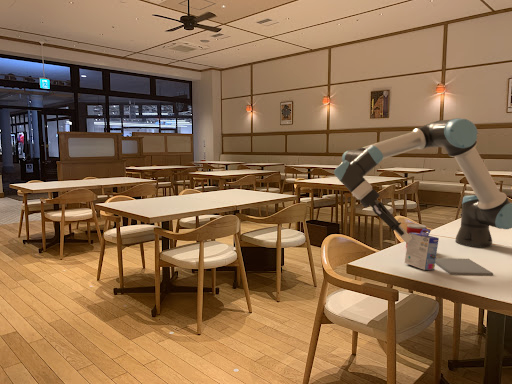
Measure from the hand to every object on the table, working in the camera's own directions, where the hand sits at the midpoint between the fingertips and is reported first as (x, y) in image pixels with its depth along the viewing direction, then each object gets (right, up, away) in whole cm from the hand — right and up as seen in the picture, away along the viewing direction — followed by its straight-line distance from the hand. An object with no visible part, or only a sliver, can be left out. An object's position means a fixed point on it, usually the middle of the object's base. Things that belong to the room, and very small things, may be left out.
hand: (409, 240), depth 149 cm
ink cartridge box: (+4, -10, 0) cm, 11 cm away
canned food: (+12, -7, +25) cm, 29 cm away
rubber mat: (+19, -10, 0) cm, 22 cm away
